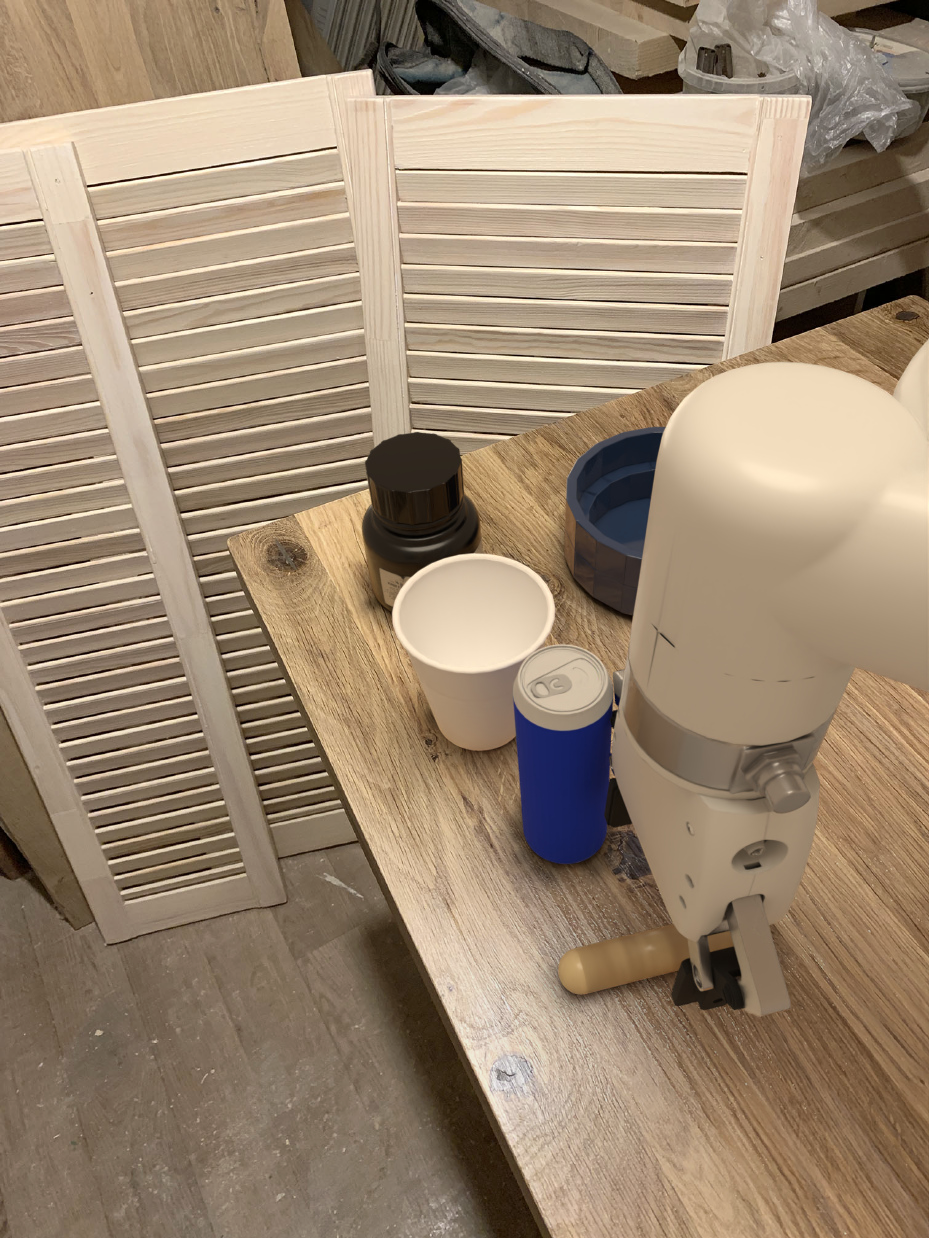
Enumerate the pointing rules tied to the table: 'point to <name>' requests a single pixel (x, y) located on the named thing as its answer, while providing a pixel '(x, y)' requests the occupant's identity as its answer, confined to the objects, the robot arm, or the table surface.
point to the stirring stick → (629, 958)
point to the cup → (473, 640)
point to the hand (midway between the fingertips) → (666, 899)
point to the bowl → (611, 515)
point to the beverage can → (563, 751)
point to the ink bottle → (415, 510)
